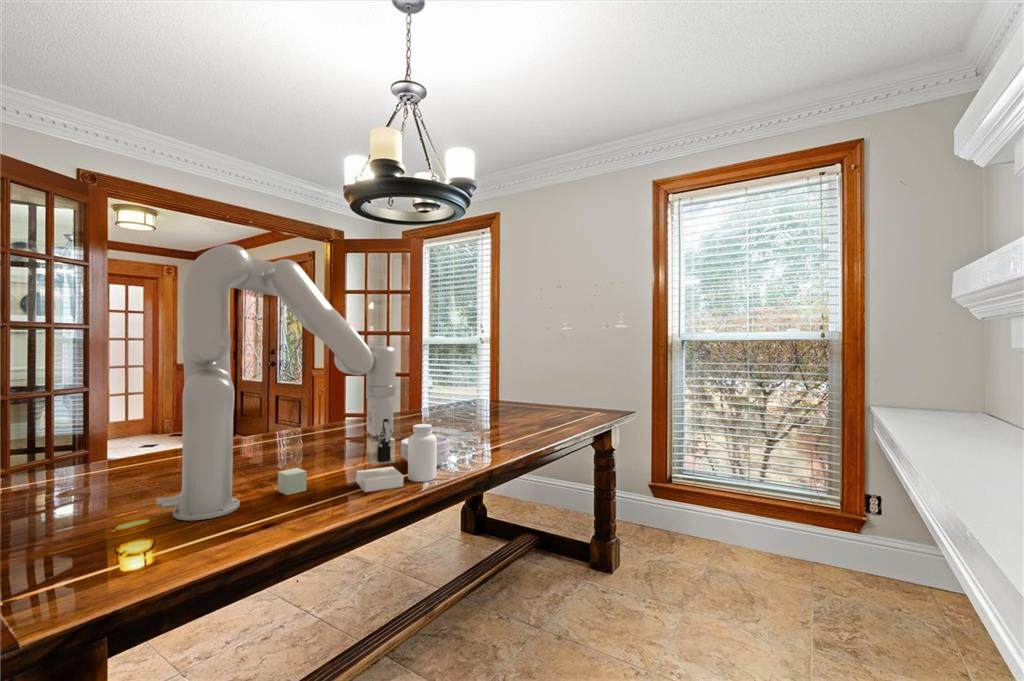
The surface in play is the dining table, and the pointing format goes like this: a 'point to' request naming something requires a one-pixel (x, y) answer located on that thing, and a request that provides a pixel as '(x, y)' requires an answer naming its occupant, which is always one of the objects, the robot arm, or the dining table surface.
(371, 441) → the maple cube
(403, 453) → the paper bowls
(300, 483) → the sage cube
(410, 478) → the pill bottle
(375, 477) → the plinth
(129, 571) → the dining table surface
